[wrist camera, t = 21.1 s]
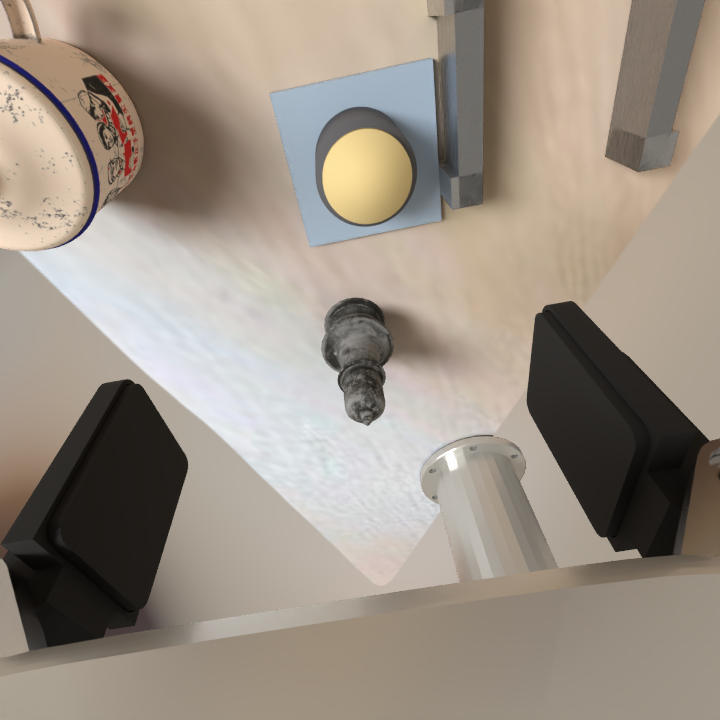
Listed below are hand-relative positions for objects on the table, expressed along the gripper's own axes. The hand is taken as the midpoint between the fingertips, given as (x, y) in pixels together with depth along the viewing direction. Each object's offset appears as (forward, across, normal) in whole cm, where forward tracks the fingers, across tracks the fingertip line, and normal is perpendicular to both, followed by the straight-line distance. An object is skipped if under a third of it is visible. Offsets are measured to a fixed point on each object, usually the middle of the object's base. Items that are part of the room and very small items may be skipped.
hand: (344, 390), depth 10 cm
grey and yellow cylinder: (+23, -2, 0) cm, 23 cm away
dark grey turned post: (+24, 0, +14) cm, 28 cm away
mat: (+24, -2, 0) cm, 24 cm away
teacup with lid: (+24, +15, -6) cm, 29 cm away
